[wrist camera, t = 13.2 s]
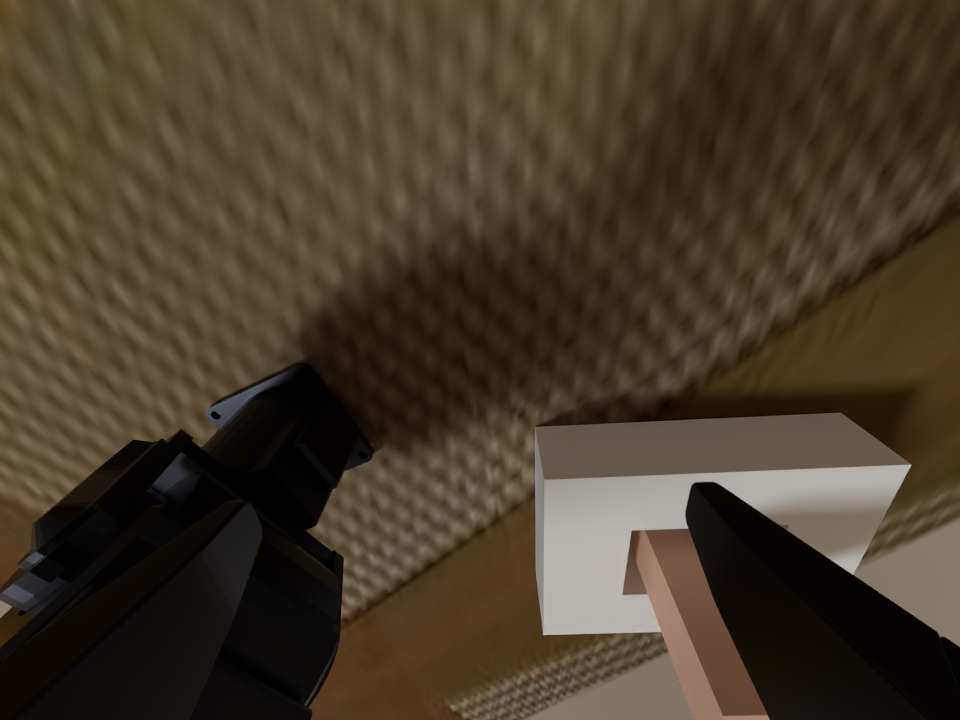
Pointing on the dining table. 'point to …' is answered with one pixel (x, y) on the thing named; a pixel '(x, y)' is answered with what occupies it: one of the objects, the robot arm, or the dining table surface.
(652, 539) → the pink rectangular block
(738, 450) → the white slotted block
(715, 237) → the dining table surface
